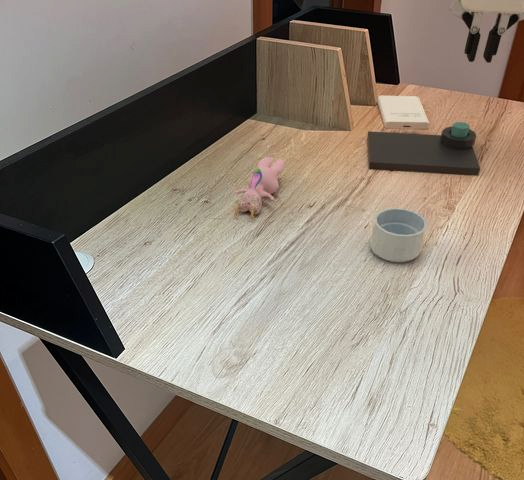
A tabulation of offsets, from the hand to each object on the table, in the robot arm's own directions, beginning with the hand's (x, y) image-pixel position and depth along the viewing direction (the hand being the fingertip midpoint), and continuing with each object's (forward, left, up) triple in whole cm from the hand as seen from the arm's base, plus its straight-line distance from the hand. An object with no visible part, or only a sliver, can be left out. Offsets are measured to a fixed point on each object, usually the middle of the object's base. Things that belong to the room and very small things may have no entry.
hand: (478, 58), depth 91 cm
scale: (+7, +3, -15) cm, 17 cm away
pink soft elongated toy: (+33, +20, -15) cm, 41 cm away
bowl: (+13, +32, -15) cm, 38 cm away
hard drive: (+9, -14, -15) cm, 22 cm away
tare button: (0, 0, -12) cm, 12 cm away
